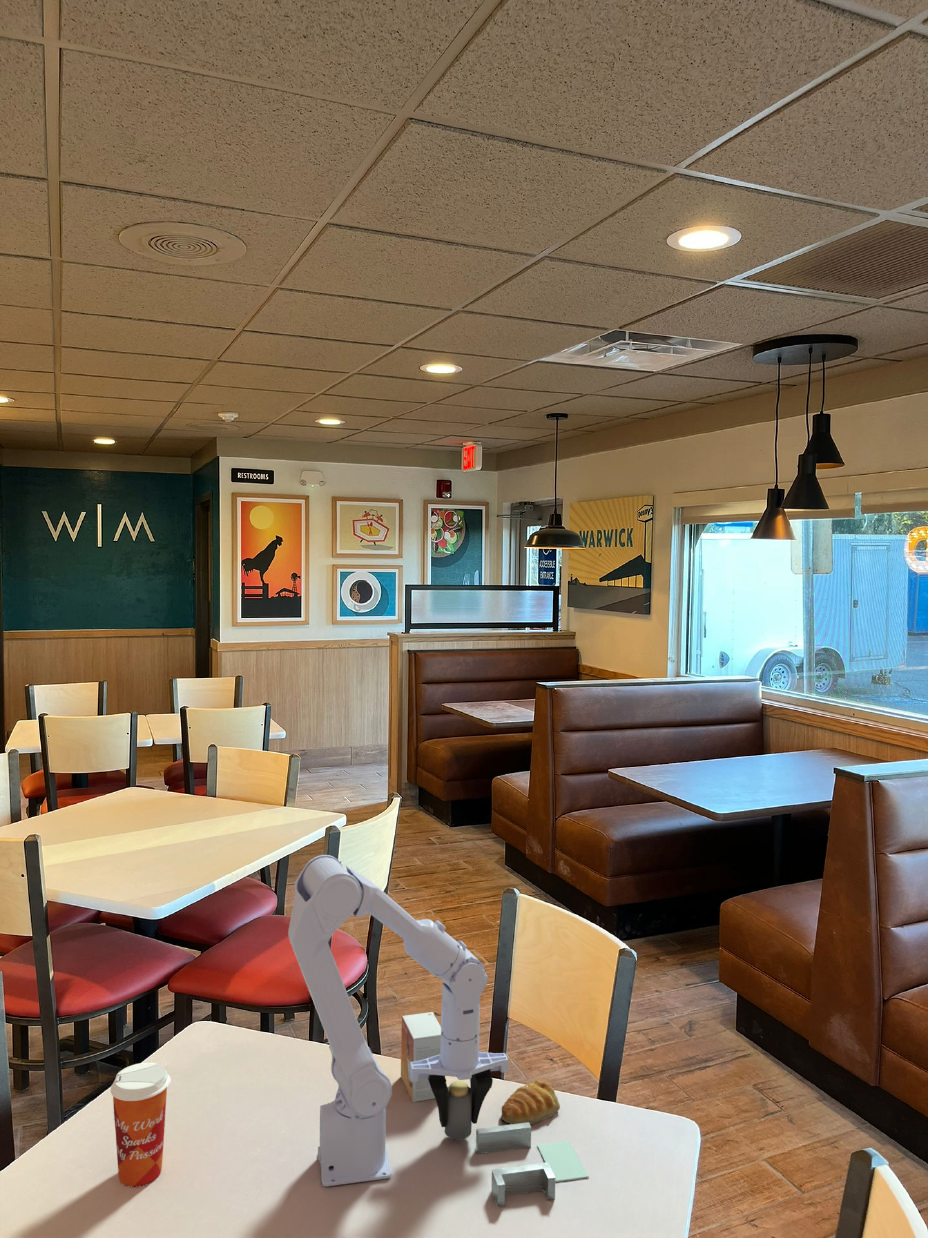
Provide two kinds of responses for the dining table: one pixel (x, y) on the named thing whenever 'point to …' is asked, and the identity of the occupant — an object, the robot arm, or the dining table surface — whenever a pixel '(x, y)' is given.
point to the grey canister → (459, 1111)
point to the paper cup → (140, 1122)
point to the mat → (563, 1161)
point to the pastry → (531, 1104)
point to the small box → (419, 1050)
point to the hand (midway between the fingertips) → (458, 1121)
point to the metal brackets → (519, 1176)
